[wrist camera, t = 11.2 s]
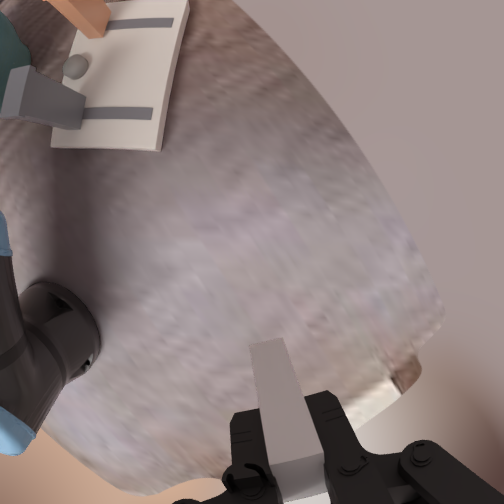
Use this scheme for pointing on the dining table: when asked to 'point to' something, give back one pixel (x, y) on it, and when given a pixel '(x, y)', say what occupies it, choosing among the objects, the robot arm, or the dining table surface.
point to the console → (125, 76)
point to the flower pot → (10, 53)
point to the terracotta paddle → (85, 15)
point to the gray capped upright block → (41, 100)
